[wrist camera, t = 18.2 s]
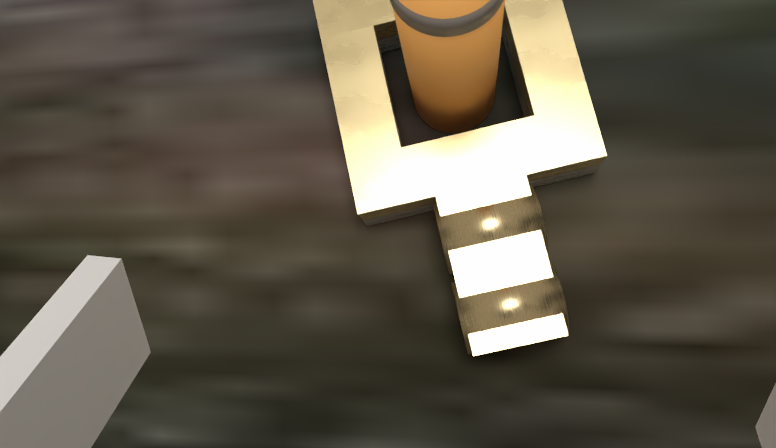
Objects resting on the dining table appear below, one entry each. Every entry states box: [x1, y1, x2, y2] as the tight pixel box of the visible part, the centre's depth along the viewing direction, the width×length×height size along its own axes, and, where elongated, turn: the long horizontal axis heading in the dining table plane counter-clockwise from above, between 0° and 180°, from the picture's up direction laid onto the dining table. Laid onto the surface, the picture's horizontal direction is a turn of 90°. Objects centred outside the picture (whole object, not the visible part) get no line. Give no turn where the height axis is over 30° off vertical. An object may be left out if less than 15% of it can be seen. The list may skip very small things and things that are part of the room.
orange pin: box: [390, 0, 505, 133], centre depth 28 cm, size 4×4×12 cm
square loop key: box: [313, 0, 607, 356], centre depth 32 cm, size 11×25×3 cm, turn 12°
